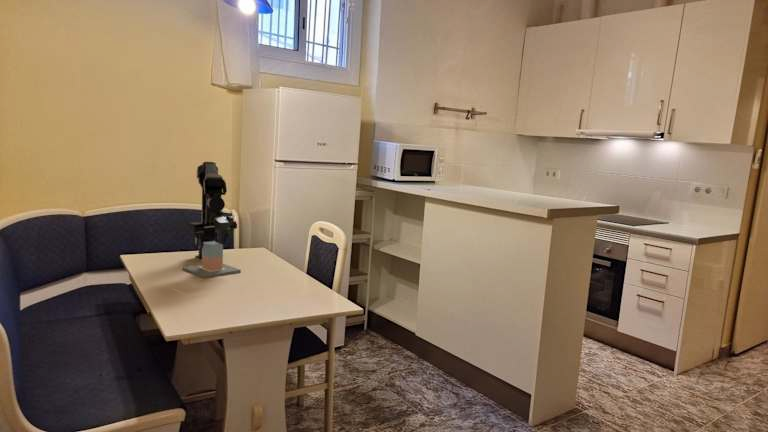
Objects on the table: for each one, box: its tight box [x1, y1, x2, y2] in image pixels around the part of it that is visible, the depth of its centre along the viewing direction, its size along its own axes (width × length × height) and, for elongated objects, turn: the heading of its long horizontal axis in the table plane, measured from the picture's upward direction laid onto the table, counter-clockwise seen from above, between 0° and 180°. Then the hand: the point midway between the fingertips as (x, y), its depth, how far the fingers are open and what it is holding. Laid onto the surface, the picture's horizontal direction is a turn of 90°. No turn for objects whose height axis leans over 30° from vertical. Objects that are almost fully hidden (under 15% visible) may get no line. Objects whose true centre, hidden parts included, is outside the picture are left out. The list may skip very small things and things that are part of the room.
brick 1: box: [202, 241, 224, 258], centre depth 203 cm, size 7×5×5 cm
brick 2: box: [201, 255, 224, 271], centre depth 203 cm, size 7×5×5 cm
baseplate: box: [182, 263, 242, 279], centre depth 204 cm, size 16×16×1 cm
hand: (212, 247), depth 202 cm, fingers open, 9 cm apart
